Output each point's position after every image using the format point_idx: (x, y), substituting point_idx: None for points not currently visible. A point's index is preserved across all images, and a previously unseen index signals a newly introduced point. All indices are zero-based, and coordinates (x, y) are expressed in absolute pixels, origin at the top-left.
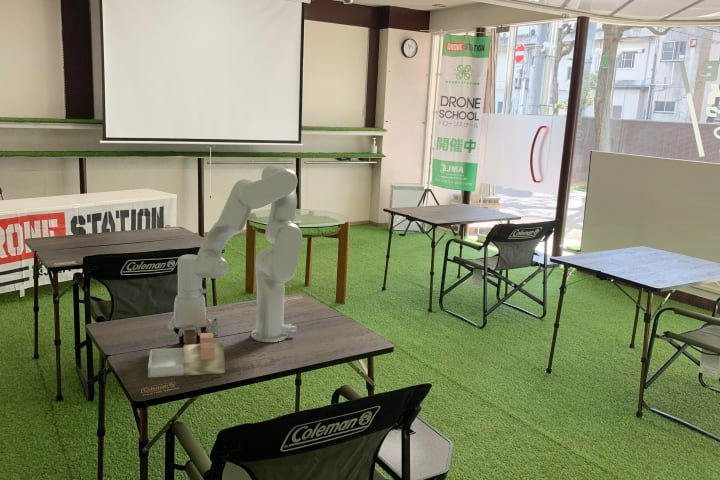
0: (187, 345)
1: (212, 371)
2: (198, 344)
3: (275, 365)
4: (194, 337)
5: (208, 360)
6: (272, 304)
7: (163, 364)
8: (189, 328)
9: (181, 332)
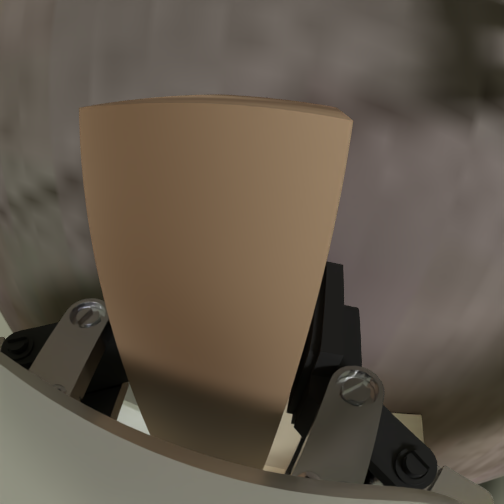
0: None
1: None
2: (275, 469)
3: (493, 470)
4: None
5: None
6: None
7: (126, 409)
8: (187, 334)
9: (109, 405)
